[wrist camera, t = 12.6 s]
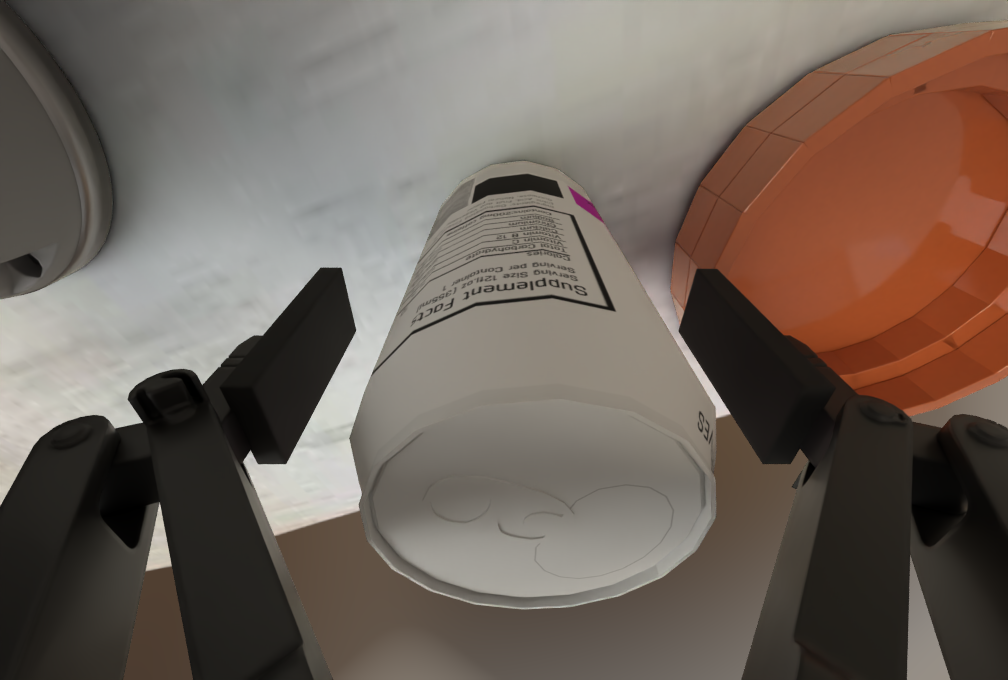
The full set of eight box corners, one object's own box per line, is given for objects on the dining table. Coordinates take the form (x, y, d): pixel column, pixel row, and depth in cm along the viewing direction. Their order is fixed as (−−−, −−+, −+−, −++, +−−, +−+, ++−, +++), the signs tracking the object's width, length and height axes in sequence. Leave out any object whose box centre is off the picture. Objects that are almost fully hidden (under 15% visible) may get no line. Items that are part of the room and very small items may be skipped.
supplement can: (632, 201, 20) (856, 455, 7) (552, 336, 24) (604, 641, 11) (469, 124, 18) (390, 287, 5) (414, 285, 22) (298, 583, 10)
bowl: (622, 353, 24) (644, 406, 21) (781, -21, 15) (872, -46, 11) (880, 391, 26) (943, 447, 23) (1167, 78, 17) (1357, 84, 13)
